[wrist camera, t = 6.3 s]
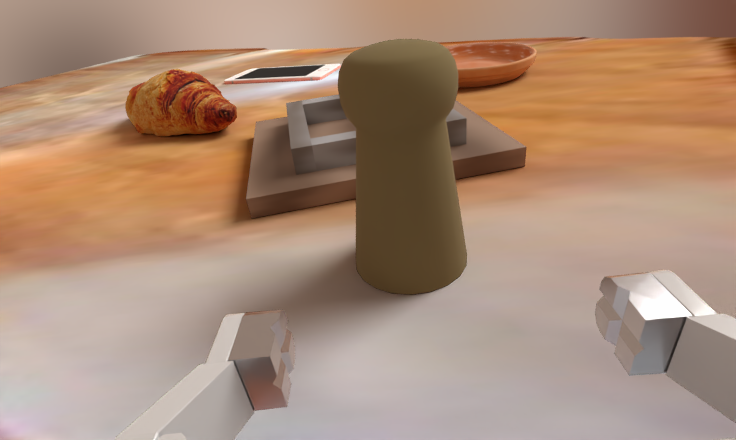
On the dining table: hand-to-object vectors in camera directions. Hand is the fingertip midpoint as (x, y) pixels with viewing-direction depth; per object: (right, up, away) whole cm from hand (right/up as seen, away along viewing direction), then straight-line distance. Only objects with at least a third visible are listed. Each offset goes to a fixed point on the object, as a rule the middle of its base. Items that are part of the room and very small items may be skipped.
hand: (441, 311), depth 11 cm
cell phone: (-16, +26, +60) cm, 68 cm away
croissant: (-24, +14, +41) cm, 50 cm away
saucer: (+12, +22, +46) cm, 52 cm away
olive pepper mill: (0, 0, +12) cm, 12 cm away
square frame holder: (-2, +9, +27) cm, 28 cm away
